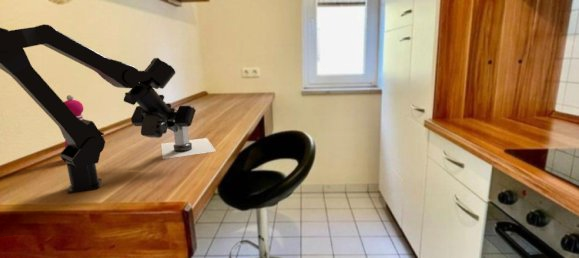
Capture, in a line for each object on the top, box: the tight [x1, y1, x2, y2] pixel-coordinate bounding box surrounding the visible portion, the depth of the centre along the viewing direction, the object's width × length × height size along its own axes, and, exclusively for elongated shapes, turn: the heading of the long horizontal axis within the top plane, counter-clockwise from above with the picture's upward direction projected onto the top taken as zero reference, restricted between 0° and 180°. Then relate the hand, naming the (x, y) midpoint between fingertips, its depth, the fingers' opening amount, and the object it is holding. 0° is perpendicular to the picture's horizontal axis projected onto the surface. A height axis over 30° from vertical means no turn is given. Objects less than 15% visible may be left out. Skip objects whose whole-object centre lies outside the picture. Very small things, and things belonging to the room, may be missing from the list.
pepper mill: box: [63, 94, 84, 148], centre depth 104 cm, size 7×7×20 cm
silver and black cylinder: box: [173, 126, 192, 152], centre depth 108 cm, size 6×6×11 cm
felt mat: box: [160, 137, 217, 160], centre depth 112 cm, size 20×16×1 cm
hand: (176, 130), depth 105 cm, fingers closed
